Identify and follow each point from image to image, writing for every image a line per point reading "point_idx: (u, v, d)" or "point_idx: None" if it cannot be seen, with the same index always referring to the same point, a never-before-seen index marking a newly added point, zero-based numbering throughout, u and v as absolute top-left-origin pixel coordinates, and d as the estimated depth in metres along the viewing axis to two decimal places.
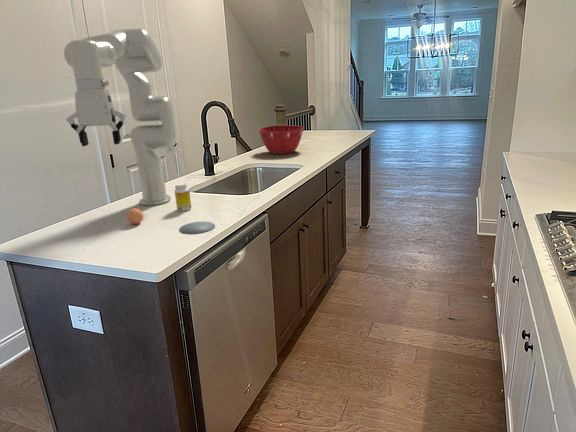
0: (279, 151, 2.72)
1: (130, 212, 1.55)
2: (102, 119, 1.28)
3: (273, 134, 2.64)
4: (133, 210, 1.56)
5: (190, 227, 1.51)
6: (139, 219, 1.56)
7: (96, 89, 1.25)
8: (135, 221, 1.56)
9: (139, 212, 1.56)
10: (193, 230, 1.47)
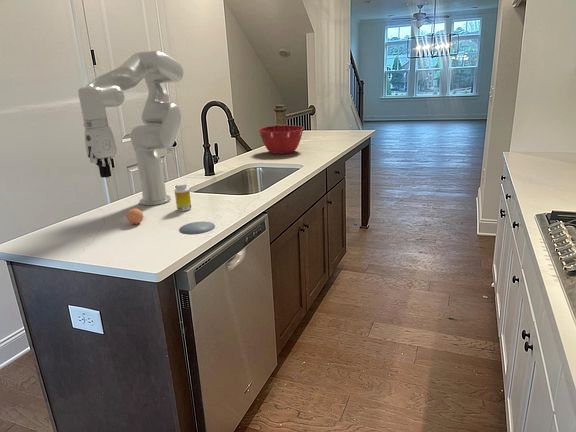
0: (279, 151, 2.72)
1: (130, 212, 1.55)
2: None
3: (273, 134, 2.64)
4: (133, 210, 1.56)
5: (190, 227, 1.51)
6: (139, 219, 1.56)
7: (85, 128, 1.49)
8: (135, 221, 1.56)
9: (139, 212, 1.56)
10: (193, 230, 1.47)
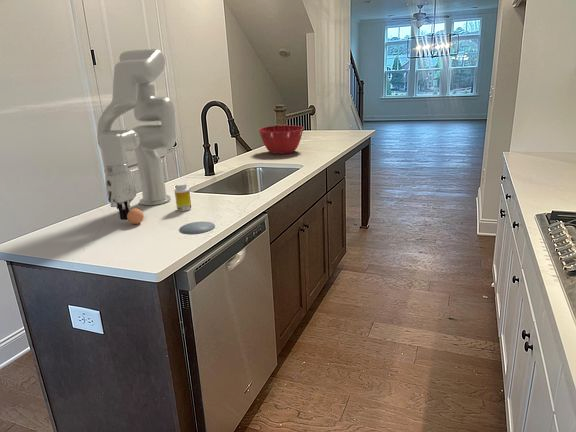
0: (279, 151, 2.72)
1: (130, 212, 1.55)
2: None
3: (273, 134, 2.64)
4: (133, 210, 1.55)
5: (190, 227, 1.51)
6: (139, 219, 1.56)
7: (106, 173, 1.52)
8: (135, 221, 1.55)
9: (139, 212, 1.56)
10: (193, 230, 1.47)
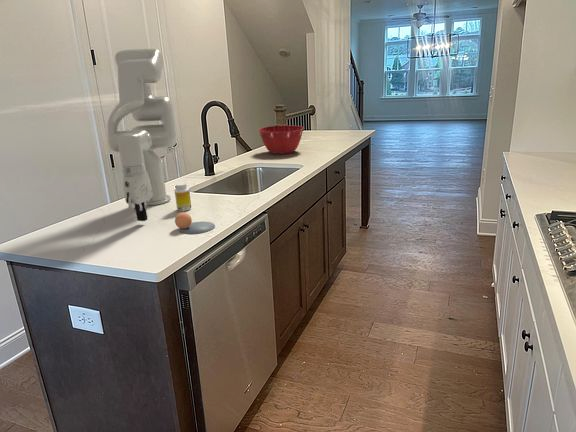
0: (279, 151, 2.72)
1: (183, 219, 1.47)
2: None
3: (273, 134, 2.64)
4: (187, 219, 1.48)
5: (190, 227, 1.51)
6: (185, 228, 1.49)
7: (123, 174, 1.50)
8: (180, 228, 1.49)
9: (190, 223, 1.49)
10: (193, 230, 1.47)
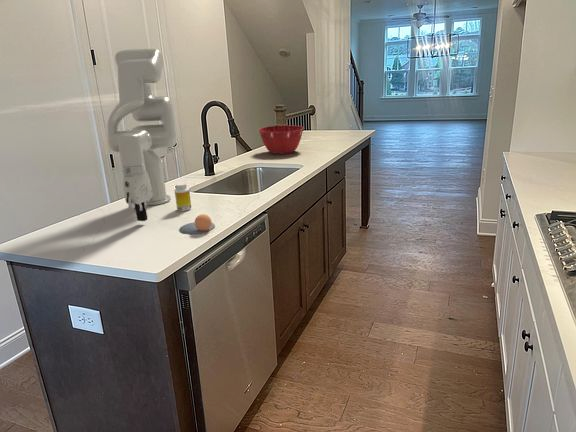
0: (279, 151, 2.72)
1: (197, 228, 1.46)
2: None
3: (273, 134, 2.64)
4: None
5: (190, 227, 1.51)
6: (197, 217, 1.46)
7: (123, 174, 1.50)
8: (197, 218, 1.45)
9: None
10: (193, 230, 1.47)
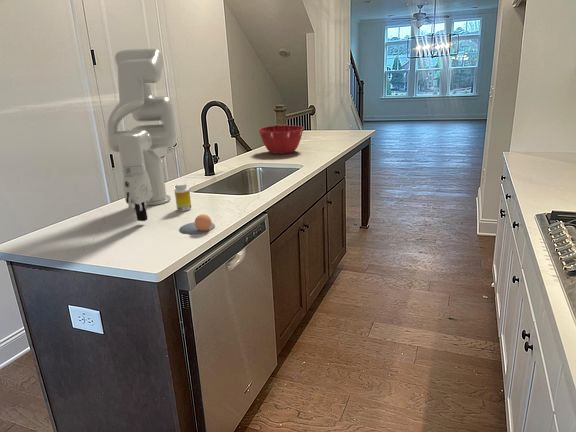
0: (279, 151, 2.72)
1: (197, 228, 1.46)
2: None
3: (273, 134, 2.64)
4: None
5: (190, 227, 1.51)
6: (197, 217, 1.46)
7: (123, 174, 1.50)
8: (197, 218, 1.45)
9: None
10: (193, 230, 1.47)
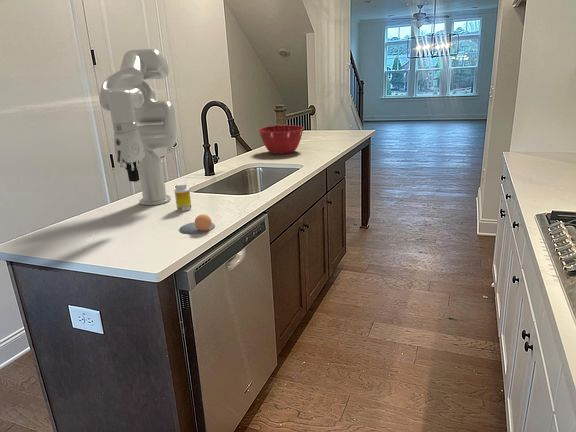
0: (279, 151, 2.72)
1: (197, 228, 1.46)
2: None
3: (273, 134, 2.64)
4: None
5: (190, 227, 1.51)
6: (197, 217, 1.46)
7: (114, 132, 1.46)
8: (197, 218, 1.45)
9: None
10: (193, 230, 1.47)
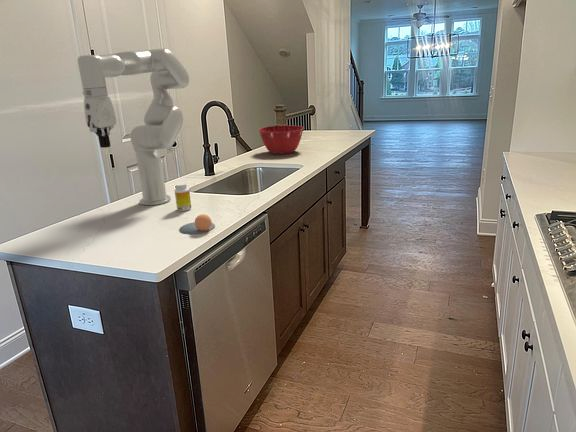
0: (279, 151, 2.72)
1: (197, 228, 1.46)
2: None
3: (273, 134, 2.64)
4: None
5: (190, 227, 1.51)
6: (197, 217, 1.46)
7: (84, 97, 1.49)
8: (197, 218, 1.45)
9: None
10: (193, 230, 1.47)
